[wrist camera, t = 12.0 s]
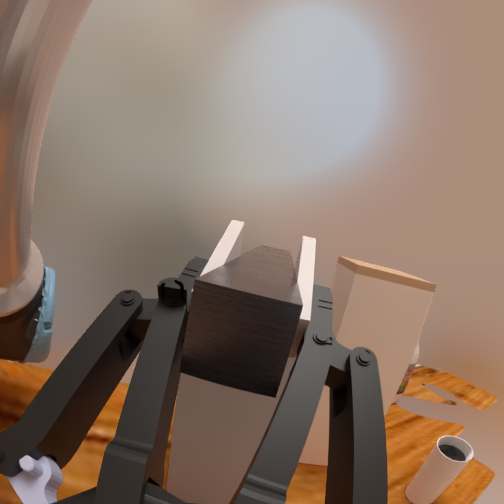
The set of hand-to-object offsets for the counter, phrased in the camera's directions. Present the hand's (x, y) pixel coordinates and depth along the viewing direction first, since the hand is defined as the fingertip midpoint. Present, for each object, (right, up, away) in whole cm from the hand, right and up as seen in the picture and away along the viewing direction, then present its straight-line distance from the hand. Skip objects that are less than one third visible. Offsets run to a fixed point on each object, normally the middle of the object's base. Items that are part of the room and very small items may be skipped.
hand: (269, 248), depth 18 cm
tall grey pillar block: (-6, -29, +12) cm, 32 cm away
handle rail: (-1, -4, +5) cm, 6 cm away
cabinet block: (+10, -32, +22) cm, 40 cm away
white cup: (+24, -36, +7) cm, 44 cm away
